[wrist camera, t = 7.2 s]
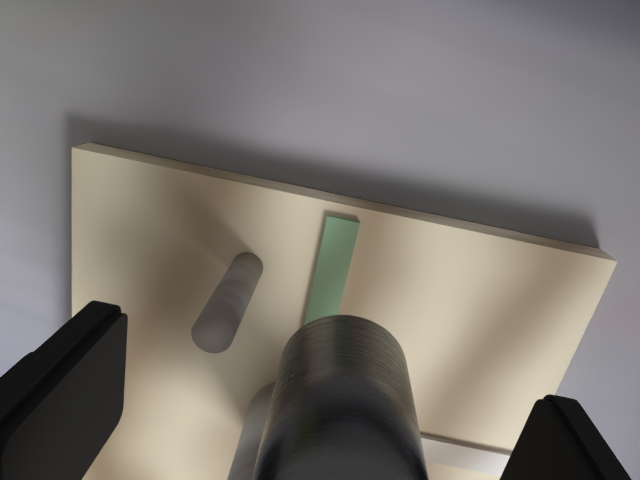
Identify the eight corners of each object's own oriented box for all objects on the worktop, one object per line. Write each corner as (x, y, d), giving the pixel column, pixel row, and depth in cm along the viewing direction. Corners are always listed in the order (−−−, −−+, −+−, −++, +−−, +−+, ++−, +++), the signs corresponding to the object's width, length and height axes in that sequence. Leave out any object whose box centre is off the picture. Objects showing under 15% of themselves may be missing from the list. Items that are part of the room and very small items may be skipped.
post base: (600, 249, 18) (750, 356, 11) (448, 584, 25) (483, 769, 18) (89, 142, 17) (-69, 187, 11) (84, 511, 24) (-13, 672, 18)
